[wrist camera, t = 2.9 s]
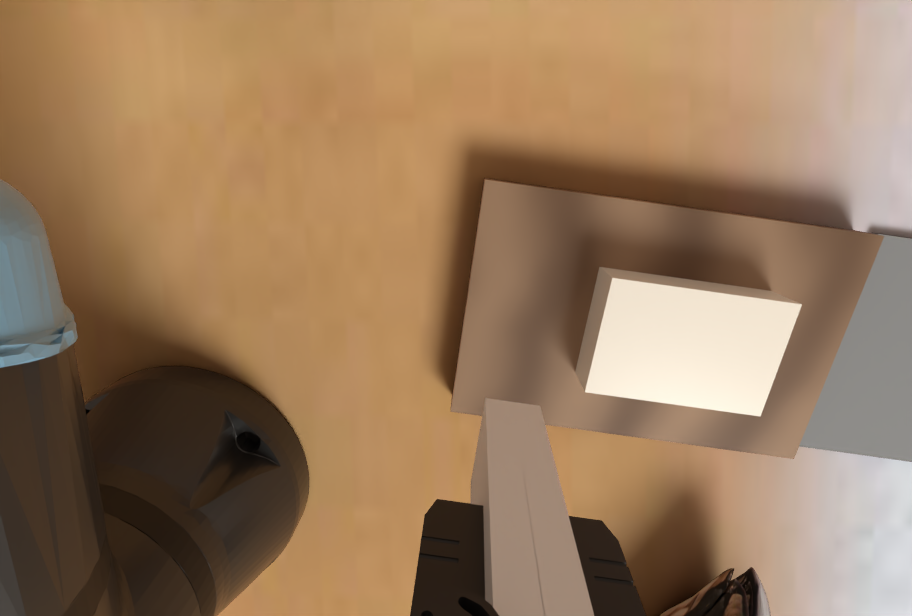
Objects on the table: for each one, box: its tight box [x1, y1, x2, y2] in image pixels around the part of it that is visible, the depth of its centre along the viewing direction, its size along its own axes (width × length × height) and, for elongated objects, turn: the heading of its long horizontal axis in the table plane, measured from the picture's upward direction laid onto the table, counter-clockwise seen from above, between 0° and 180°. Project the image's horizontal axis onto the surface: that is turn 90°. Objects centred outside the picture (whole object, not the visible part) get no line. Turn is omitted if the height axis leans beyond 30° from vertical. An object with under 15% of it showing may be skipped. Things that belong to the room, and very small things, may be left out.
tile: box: [575, 267, 802, 417], centre depth 24 cm, size 9×6×2 cm, turn 82°
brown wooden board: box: [451, 178, 884, 459], centre depth 26 cm, size 20×13×2 cm, turn 82°
